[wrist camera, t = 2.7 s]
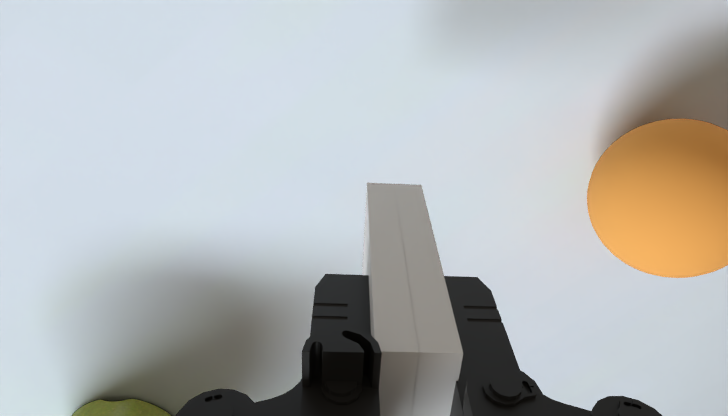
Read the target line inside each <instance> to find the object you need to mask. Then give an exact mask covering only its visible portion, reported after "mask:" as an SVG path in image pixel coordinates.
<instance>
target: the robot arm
mask: <svg viewBox="0 0 728 416" xmlns="http://www.w3.org/2000/svg"><path fill="white" fill-rule="evenodd" d="M362 273H363V275H340V274H325V276H324V277H323V278H322V279H321V281H320V282H319V283H318V284H317V286H316V287H315V295H314V306H313V314H312V324H311V333H310V338H309V339H307V340H306V342H305V345H304V347H303V350H302V379H301V381H300V382H299V383H298V384H297V385H296V386H295V387H294V388H293V389H292V390H290V391H288V392H286V393H285V394H283V395H280V396H278V397H275V398H272V399H268V400H264V401H260V402H256V403H254V402H253V401H252V400H251V399H250V398H249V397H248V396H247V395H246V394H243V393H241V392H238V391H236V390H230V389H216V390H212V391H208V392H204V393H202V394H200V395H198V396H196V397H194V398H193V399H191V400H189V401H188V402H187V403H186V404H185V405H184V406H183V407H182V409H181V410H180V411H179V412H178V413H177V415H176V416H662V415H661V414H660V413H659V412H657V411H656V410H655V409H654V408H652V407H650V406H648V405H646V404H644V403H643V402H641V401H639V400H635V399H631V398H628V397H624V396H608V397H606V398H603V399H601V400H599V401H597V403H596V404H595V406H594V407H593V409H592V411H589V410H585V409H581V408H578V407H574V406H571V405H567V404H563V403H561V402H558V401H555V400H552V399H550V398H548V397H546V396H545V395H543V394H542V392H541V390H540V389H539V387H538V386H537V384H536V382H535V381H534V380H533V379H531V378H530V377H529V376H528V375H526V374H525V373H524V372H522V371H520V369H519V366H518V364H517V361H516V358H515V355H514V353H513V350H512V347H511V344H510V342H509V339H508V336H507V333H506V331H505V328H504V325H503V323H501V317H500V314H499V311H498V310H497V306H496V303H495V301H494V298H493V295H492V292H491V290H490V289H489V288H488V287H487V286H486V285H485V284H484V283H483V282H482V281H481V280H480V279H479V278H478V277H454V276H444V274H443V270H442V266H441V262H440V258H439V254H438V250H437V246H436V242H435V238H434V234H433V230H432V226H431V222H430V218H429V214H428V210H427V206H426V202H425V198H424V194H423V190H422V186H421V185H410V184H383V183H367V192H366V209H365V227H364V245H363V262H362Z"/></svg>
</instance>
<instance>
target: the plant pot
mask: <svg viewBox="0 0 728 416" xmlns="http://www.w3.org/2000/svg"><path fill="white" fill-rule="evenodd" d="M72 416H171V415H170V414H169V413H167V412H166V411H164V410H162V409H161V408H159V407H157V406H154V405H152V404H150V403H147V402H144V401H141V400H136V399H127V400H123V401H109V402H108V401H103V400H96V401H93V402H90V403H88V404H86V405H84V406H82V407H81V408H79V409H78V410H77V411H76V412H74V414H73V415H72Z"/></svg>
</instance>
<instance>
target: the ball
mask: <svg viewBox="0 0 728 416" xmlns="http://www.w3.org/2000/svg"><path fill="white" fill-rule="evenodd" d="M587 205H588V213H589V216H590V220H591V223H592V226H593V228H594V230H595V232H596V234H597V235H598V237H599V238H600V240H601V241H602V243H603V244H604V245H605V246H606V247H607V248H608V249H609V250H610V252H611V253H612V254H613V255H615V256H616V257H617V258H619V259H620V260H621V261H623V262H624V263H626V264H628V265H629V266H631V267H633V268H635V269H638V270H640V271H643V272H645V273H648V274H653V275H657V276H662V277H671V278H686V277H694V276H699V275H703V274H707V273H710V272H714V271H716V270H719V269H721V268H723V267H725V266H727V265H728V130H726V129H723V128H721V127H719V126H716V125H714V124H712V123H708V122H704V121H699V120H694V119H666V120H659V121H655V122H651V123H648V124H645V125H642V126H640V127H637V128H635V129H633V130H631V131H629V132H627V133H626V134H624V135H623V136H621V137H620V138H619V139H617V140H616V141H615V142H614V143H613V144H612V145H611V146H610V147H609V148H608V149H607V150H606V151H605V152H604V153H603V155H602V156H601V157H600V159H599V160H598V162H597V164H596V165H595V168H594V170H593V172H592V175H591V178H590V181H589V186H588V191H587Z"/></svg>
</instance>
